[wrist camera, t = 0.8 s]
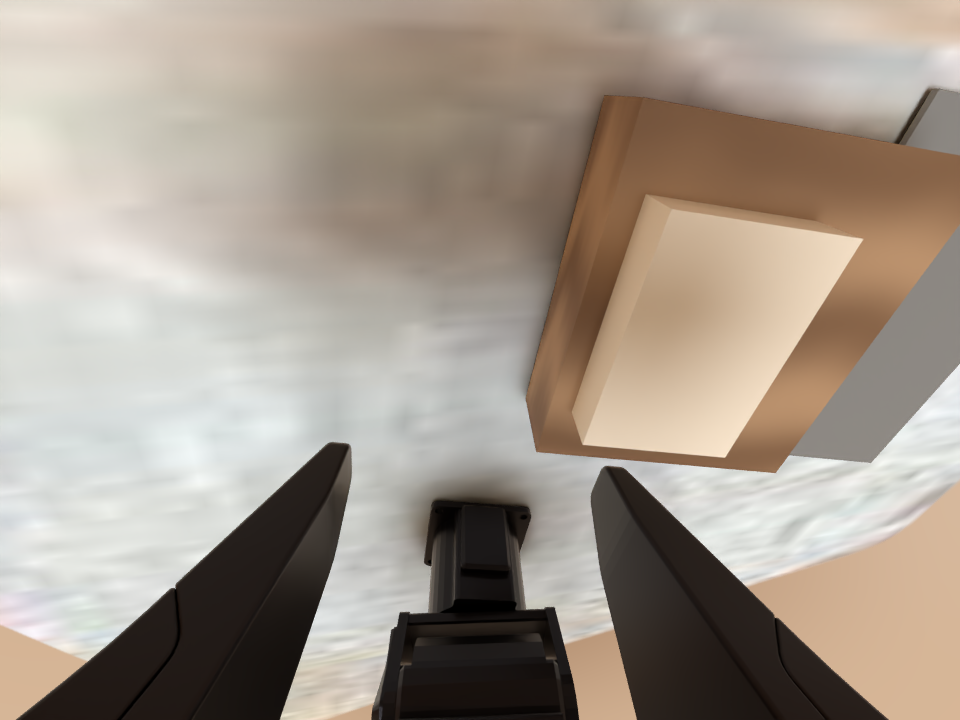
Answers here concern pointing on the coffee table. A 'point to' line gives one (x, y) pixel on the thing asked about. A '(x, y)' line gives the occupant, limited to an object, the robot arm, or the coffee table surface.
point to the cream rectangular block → (702, 323)
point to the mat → (900, 333)
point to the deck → (756, 187)
